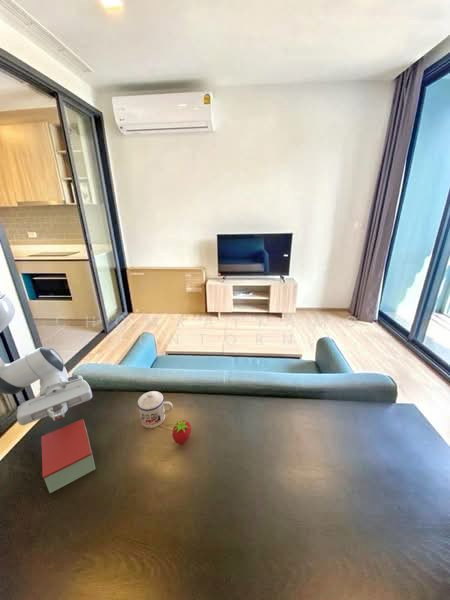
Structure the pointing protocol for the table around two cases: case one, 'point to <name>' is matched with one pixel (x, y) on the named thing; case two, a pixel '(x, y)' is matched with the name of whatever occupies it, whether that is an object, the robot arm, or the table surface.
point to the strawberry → (181, 432)
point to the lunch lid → (64, 447)
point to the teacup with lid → (152, 409)
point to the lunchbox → (70, 473)
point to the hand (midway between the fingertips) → (58, 417)
